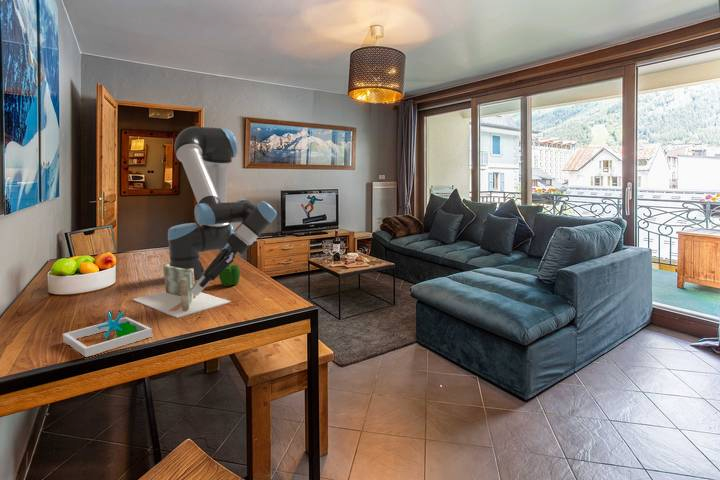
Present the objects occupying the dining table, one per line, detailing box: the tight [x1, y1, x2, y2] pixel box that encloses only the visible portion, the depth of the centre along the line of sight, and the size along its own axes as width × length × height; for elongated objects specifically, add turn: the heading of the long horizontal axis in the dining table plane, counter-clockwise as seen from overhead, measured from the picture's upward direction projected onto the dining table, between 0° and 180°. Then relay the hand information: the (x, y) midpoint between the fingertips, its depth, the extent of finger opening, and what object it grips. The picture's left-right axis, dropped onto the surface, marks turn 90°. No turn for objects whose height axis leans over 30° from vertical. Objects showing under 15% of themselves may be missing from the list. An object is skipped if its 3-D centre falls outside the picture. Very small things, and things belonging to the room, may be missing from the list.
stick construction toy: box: [97, 310, 137, 340], centre depth 107 cm, size 12×7×8 cm
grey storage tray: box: [62, 316, 153, 357], centre depth 103 cm, size 16×16×2 cm
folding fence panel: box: [180, 270, 194, 310], centre depth 130 cm, size 14×2×10 cm, turn 16°
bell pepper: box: [218, 263, 241, 287], centre depth 156 cm, size 8×8×10 cm
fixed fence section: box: [163, 263, 196, 298], centre depth 142 cm, size 17×2×10 cm, turn 58°
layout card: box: [132, 290, 231, 319], centre depth 136 cm, size 31×19×1 cm, turn 53°
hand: (193, 292), depth 129 cm, fingers closed
